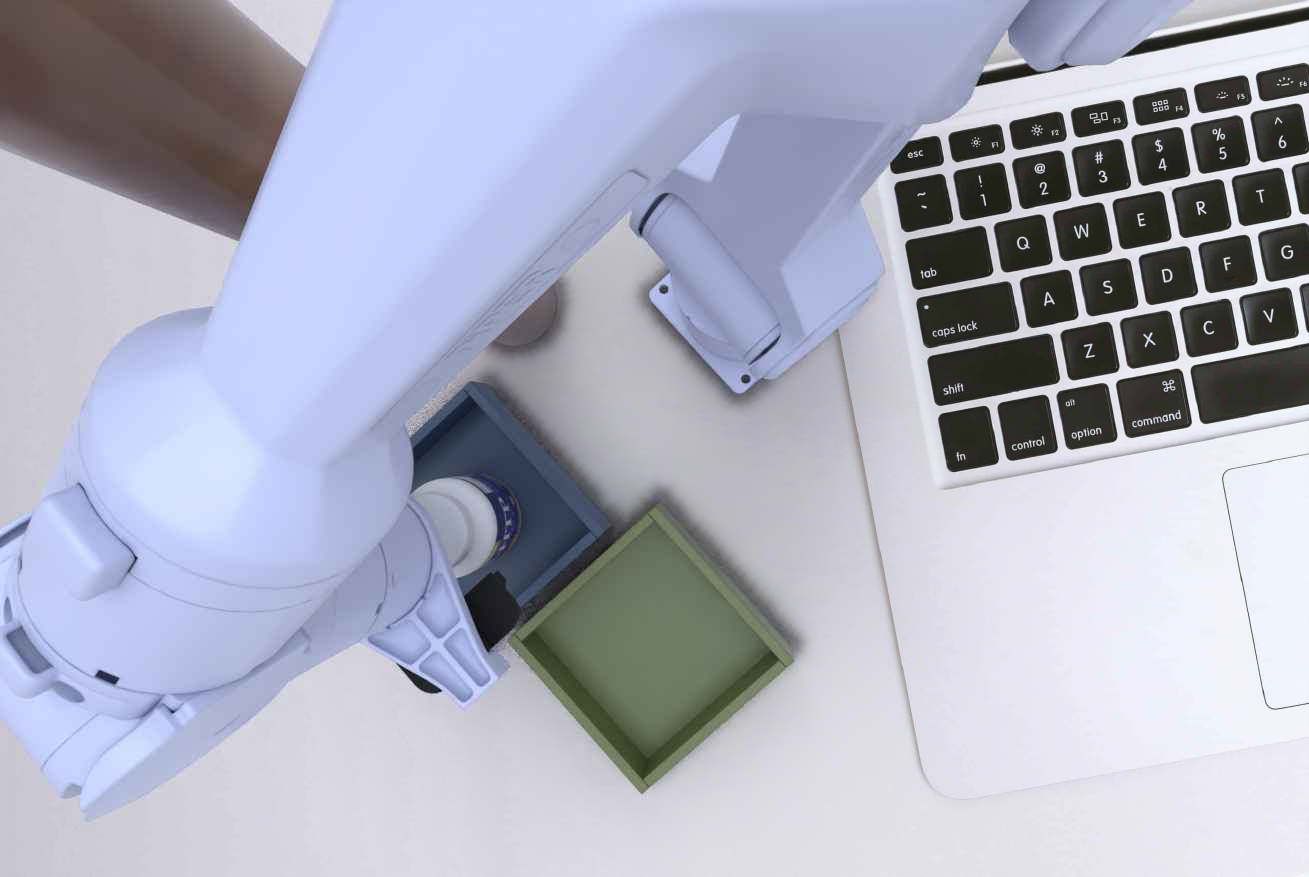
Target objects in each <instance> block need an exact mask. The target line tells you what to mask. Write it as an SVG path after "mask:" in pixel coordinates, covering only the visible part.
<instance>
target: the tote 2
mask: <svg viewBox="0 0 1309 877" xmlns="http://www.w3.org/2000/svg"><path fill="white" fill-rule="evenodd" d="M506 642H507V643H508V644H509V646H510V647H511V648H512V649H513V650H514V651H515V652H516V653H517V655H518V656H519V658H521V659H522V660H523V661H524V662H525V664H526V665H527V666H528V667H529V668H530V669H531V671H532V672H533V673H534V674H535V675H536V676H537V677H538V678H539V680H540V681H541V682H542V683H543V684H544V685H545V686H546V688H547V689H548V690H549V691H550V692H551V693H552V694H553V695H554V696H555V698H556V699H557V700H558V701H559V703H561V705H562V706H563V707H564V708H565V709H566V710H567V711H568V713H569V714H570V715H571V716H572V717H573V718H574V719H575V720H576V722H577V723H578V724H579V725H580V726H581V727H582V729H583V730H584V731H585V732H586V734H588V735H589V736H590V738H591V739H592V741H594V742H595V743H596V744H597V745H598V747H599V748H600V749H601V750H602V751H603V752H604V754H605V755H606V756H607V757H608V758H609V760H611V762H612V763H613V764H614V765H615V766H616V767H617V769H619V771H620V772H621V774H623V776H625V778H626V779H627V780H628V781H629V782H630V783H631V784H632V786H634V788H635V789H636V790H637V791H638V793H639V794H641V795H643V794H645V793H646V792H647V791H648V790H649V789H650V788H651V787H652V786H654V785H655V784H656V783H657V782H658V781H659V780H660V779H662V778H663V777H664V776H665V775H666V774H667V773H669V772H670V770H672V769H673V768H674V767H675V766H677V765H678V764H679V763H680V762H681V761H682V760H684V759H685V758H686V757H687V756H688V755H689V754H691V753H692V752H693V751H694V750H695V749H696V748H698V747H699V746H700V745H701V744H702V743H703V742H705V740H706V739H707V738H708V737H710V736H711V735H712V734H713V733H714V732H716V731H717V730H718V729H719V728H721V726H722V725H724V724H725V723H726V722H727V721H728V720H729V719H731V717H733V716H734V715H735V714H737V712H739V711H740V709H742V708H743V707H744V706H745V705H746V704H748V703H749V702H750V701H751V700H752V699H753V698H754V697H756V696H757V695H758V694H759V693H760V692H762V690H763V689H765V688H766V687H767V686H768V685H769V684H770V683H772V682H773V681H774V680H775V679H776V678H777V677H778V676H780V675H781V674H782V673H783V672H784V671H786V669H787V668H789V667H790V666H791V665H792V664H793V663H794V662H795V658H794V657H795V656H794V654H793V650H792V646H791V644H790V643H789V642H788V641H787V639H785V637H784V636H783V635H782V634H781V633H780V632H779V631H778V630H777V628H776V627H775V626H774V625H773V624H772V622H770V620H769V619H768V618H767V617H766V616H765V615H764V614H763V613H762V611H760V609H759V608H758V607H757V606H756V605H755V604H754V603H753V602H752V601H751V600H750V598H749V597H748V596H747V595H746V594H745V593H744V592H743V591H742V590H741V588H739V586H738V585H737V584H736V582H734V581H733V579H731V577H730V576H729V575H728V574H727V572H725V571H724V570H723V568H722V567H721V566H720V565H719V564H718V563H717V562H716V561H715V560H714V559H713V557H712V556H711V554H709V553H708V552H707V550H705V548H704V547H703V546H702V545H701V544H700V543H699V541H697V539H696V538H695V537H694V536H693V535H692V534H691V533H690V532H689V531H688V530H687V529H686V527H685V526H684V525H683V524H682V523H681V522H680V521H679V519H677V517H676V515H674V514H673V513H672V511H670V510H669V508H668V507H667V506H666V505H665V504H664V503H663V502H662V501H658V502H657V503H656V504H655V505H654V506H652V508H651V509H649V511H647V512H646V513H645V514H644V515H643V516H642V517H641V518H639V519H638V520H637V521H636V522H635V523H634V524H633V525H632V526H631V527H630V528H629V529H628V530H626V532H624V533H623V534H622V535H621V536H620V537H618V539H616V540H615V541H614V542H613V543H612V544H610V546H609V547H607V548H606V549H605V550H604V551H603V552H601V554H600V555H599V556H598V557H596V558H595V559H594V560H593V561H592V562H591V563H590V564H589V565H588V566H586V568H584V569H583V570H582V571H581V572H580V573H579V574H577V576H575V577H574V578H573V580H571V581H570V582H569V583H568V584H566V585H565V587H563V588H562V589H560V591H559V592H558V593H557V594H555V596H553V597H552V598H551V599H550V600H549V601H548V602H547V603H546V604H545V605H543V606H541V608H540V609H539V610H537V612H536V613H535V614H533V615H532V616H531V617H530V618H528V620H527V621H526V622H524V623H523V624H522V625H521V626H520V627H519V628H518V629H517V630H516V631H515V632H513V634H512V635H511V636H510V637H508V638H507V640H506Z"/></svg>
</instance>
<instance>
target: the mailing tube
mask: <svg viewBox="0 0 1309 877" xmlns="http://www.w3.org/2000/svg"><path fill="white" fill-rule="evenodd" d="M306 68H307V66H305V65H304V64H302V63H301V62H300V61H299V60H298V59H297V58H296V57H295V56H293V55H292V54H291V53H290V52H289V51H287V50H286V48H284V47H283V46H282V45H281V44H280V43H278V42H277V41H276V40H275V39H274V38H273V37H271V35H269V34H268V33H267V32H266V31H265V30H264V29H263V28H261V27H260V26H259V25H258V24H256V23H255V21H253V20H252V19H251V18H249V17H248V16H247V15H246V14H245V13H244V12H243V11H241V10H240V9H239V8H238V7H237V6H235V5H234V3H232V2H231V1H229V0H0V150H2V151H5V152H8V153H10V154H12V155H15V156H18V157H20V158H22V159H25V160H28V161H31V162H33V163H36V164H38V165H40V166H43V167H46V168H48V169H51V170H53V171H56V172H59V173H61V174H64V175H66V176H68V177H72V178H73V179H75V180H76V179H77V180H79V181H82V182H84V183H87V184H90V185H92V186H93V187H94V186H95V187H98V188H100V189H102V190H105V191H108V192H110V193H113V194H115V195H118V196H121V197H122V198H126V199H128V200H130V201H133V202H135V203H139V204H141V205H143V206H146V207H149V208H150V209H154V210H156V211H158V212H162V213H164V214H166V215H169V216H172V217H174V218H176V219H179V220H181V221H185V222H187V223H190V224H192V225H195V226H196V227H200V228H203V229H205V230H207V231H211V232H213V233H215V234H218V235H221V236H223V237H226V238H228V239H231V240H233V241H236V242H239V240H240V237H241V235H242V232H243V230H244V227H245V224H246V222H247V219H248V217H249V214H250V212H251V209H252V206H253V204H254V201H255V199H256V196H257V194H258V191H259V189H260V186H261V183H262V181H263V178H264V176H265V173H266V171H267V168H268V165H269V163H270V160H271V158H272V155H273V153H274V150H275V147H276V145H277V142H278V140H279V137H280V135H281V132H282V130H283V127H284V124H285V122H286V119H287V117H288V114H289V112H290V109H291V106H292V104H293V101H294V99H295V96H296V94H297V91H298V89H299V86H300V83H301V81H302V78H303V76H304V73H305V71H306ZM556 312H557V296H556V292H555V288H554V285H553V284H552V285H551V286H550V287H549V288H548V289H547V290H546V291H545V292H544V293H543V294H542V295H541V296H540V297H539V298H538V299H536V300H535V301H534V302H533V303H532V304H531V305H530V306H529V307H528V308H527V309H526V310H525V311H524V312H523V313H522V314H521V315H520V316H519V317H517V318H516V319H515V320H514V321H513V322H512V323H511V324H510V325H509V326H508V327H507V328H506V329H505V330H504V331H503V332H502V333H501V334H500V335H498V336H497V337H496V338H495V339H494V340H493V341H492V342H495V343H497V344H500V345H504V346H510V347H520V346H525V345H529V344H531V343H534V342H535V341H536V340H539V339H540V338H541V337H542V336H543V335H544V334H545V333H546V332H547V331H548V330H549V328H550V327H551V326H552V323H553V321H554V320H555V317H556V316H555V315H556Z"/></svg>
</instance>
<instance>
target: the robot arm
mask: <svg viewBox="0 0 1309 877" xmlns="http://www.w3.org/2000/svg"><path fill="white" fill-rule="evenodd" d="M1193 1H1194V0H332V1H331V3H330V5H329V6H330V7H329V9H328V12H327V15H326V17H325V20H324V22H323V25H322V27H321V30H320V32H319V35H318V38H317V40H316V43H315V45H314V47H313V50H312V52H311V55H310V58H309V61H308V63H307V66H306V71H305V73H304V76H303V78H302V81H301V83H300V86H299V89H298V91H297V94H296V96H295V99H294V101H293V104H292V106H291V109H290V112H289V114H288V117H287V119H286V122H285V124H284V127H283V130H282V132H281V135H280V137H279V140H278V142H277V145H276V147H275V150H274V153H273V155H272V158H271V160H270V163H269V165H268V168H267V171H266V173H265V176H264V178H263V181H262V183H261V186H260V189H259V191H258V194H257V196H256V199H255V201H254V204H253V206H252V209H251V212H250V214H249V217H248V219H247V222H246V224H245V227H244V230H243V232H242V235H241V237H240V240H239V242H238V241H237V242H238V243H237V245H236V248H235V251H234V253H233V255H232V257H231V261H230V263H229V264H228V268H227V270H226V273H225V276H224V278H223V280H222V282H221V283H222V284H221V286H220V289H219V291H218V294H217V297H216V298H215V301H214V304H213V305H212V306H211V305H210V306H203V307H202V306H201V307H197V308H188V309H182V310H178V311H174V312H170V313H167V314H164V315H161V316H158V317H156V318H153V319H152V320H149V321H148V322H146V323H144V324H141V325H139V326H138V327H136V328H135V329H133V330H132V331H130V332H129V333H127V334H126V335H125V336H123V337H122V338H121V339H120V340H119V341H118V342H117V343H116V344H115V345H114V346H113V347H112V349H110V351H109V352H108V353H107V355H106V356H105V357H104V359H103V360H102V361H101V363H100V364H99V367H98V369H97V371H96V373H95V376H94V378H93V379H92V382H91V384H90V387H89V389H88V392H87V394H86V396H85V399H84V401H83V403H82V405H81V408H80V410H79V412H78V414H77V416H76V419H75V421H74V423H73V425H72V427H71V428H70V431H69V433H68V436H67V438H66V440H65V442H64V444H63V447H62V449H61V451H60V453H59V456H58V458H57V460H56V461H55V462H56V463H55V466H54V467H53V469H52V472H51V473H50V476H49V478H48V481H47V483H46V485H45V487H44V490H43V492H42V494H41V495H40V499H39V500H38V502H37V505H36V508H34V509H32V510H30V511H28V512H26V513H24V514H23V515H21V516H19V517H17V518H15V519H14V520H13V521H10V522H9V523H7V524H5V525H4V526H3V527H1V528H0V719H1V721H2V722H3V723H4V724H5V726H6V727H7V729H8V730H9V732H10V733H11V734H12V735H13V737H14V738H15V739H16V741H17V742H18V743H19V744H20V746H21V747H22V748H23V750H24V751H25V752H26V754H27V755H28V756H29V757H30V759H31V760H32V762H33V763H34V764H35V766H36V767H37V768H38V770H39V771H40V772H41V773H42V775H43V776H44V778H45V779H46V780H47V781H48V783H49V784H50V786H51V787H52V788H53V790H54V791H55V792H56V793H57V795H58V796H59V797H60V799H63V800H68V799H71V798H75V797H77V796H79V800H78V807H79V809H80V810H81V812H82V813H84V816H83V821H84V822H85V823H90V822H93V821H95V820H98V819H99V818H103V817H104V816H106V815H108V814H110V813H112V812H114V811H116V810H118V809H120V808H123V807H125V806H127V805H129V804H131V803H133V802H136V801H137V800H139V799H141V798H144V797H145V796H147V795H148V794H150V793H151V792H154V790H156V789H158V788H160V787H161V786H163V785H165V783H167V782H168V781H170V780H172V779H173V778H174V777H176V776H177V775H179V774H180V773H182V772H183V771H185V770H186V769H187V768H189V767H190V766H191V765H194V763H196V762H197V761H199V760H200V759H202V757H204V756H205V755H207V754H209V752H211V751H212V750H213V749H215V748H216V747H218V746H219V745H220V744H222V743H223V742H224V741H225V740H227V739H228V738H229V737H230V736H232V735H233V734H235V733H236V732H237V731H238V730H239V729H241V728H242V727H243V726H245V725H246V724H247V723H248V722H249V721H250V720H252V719H253V718H254V717H256V715H258V714H259V713H260V712H262V710H264V709H265V707H266V706H269V704H270V703H271V702H272V701H273V700H274V699H275V698H276V697H277V696H278V695H279V694H280V693H281V692H282V690H283V689H284V688H285V687H286V686H287V685H288V683H289V682H291V681H293V680H294V679H296V678H298V677H299V676H301V675H303V674H305V673H307V672H308V671H310V670H312V669H313V668H315V667H317V666H319V665H321V664H322V663H324V662H326V661H328V660H329V659H331V658H333V657H335V656H336V655H338V654H340V653H342V652H344V651H345V650H347V649H349V648H352V647H353V646H354V645H356V644H358V643H360V644H362V645H364V646H365V647H367V648H369V649H371V650H372V651H374V652H375V653H378V654H379V655H382V656H383V657H385V658H387V659H388V660H390V661H392V662H394V663H395V664H396V665H397V666H398V668H399V669H400V670H401V671H402V672H403V673H404V675H405V676H406V677H407V679H409V680H410V682H411V683H412V684H413V685H414V686H415V687H416V688H417V689H418V690H419V691H421V692H424V693H425V694H430V695H432V694H433V695H434V694H439V693H442V692H444V693H445V694H446V696H448V697H449V698H450V699H451V700H452V701H453V702H454V703H455V704H456V705H457V706H458V707H459V708H460V709H461V710H462V711H465V710H467V709H468V708H469V707H470V706H471V705H472V704H473V703H475V702H476V701H477V700H478V699H479V698H480V697H481V696H482V695H484V694H485V693H486V692H487V691H488V690H489V689H490V688H491V687H492V686H494V684H496V683H497V682H498V681H499V680H500V679H501V678H502V677H503V676H504V675H505V673H506V672H507V671H508V670H509V669H510V668H511V663H509V661H508V660H507V659H506V658H505V657H504V656H503V655H502V654H501V653H500V651H498V650H497V649H493V648H494V647H495V646H496V645H498V643H499V642H500V641H502V639H504V638H505V637H507V635H508V634H510V632H511V631H512V630H514V629H515V628H516V626H517V624H518V622H519V620H520V617H521V616H522V613H523V610H522V608H520V606H519V604H518V603H517V601H516V600H515V599H514V597H513V596H512V595H511V594H510V593H509V592H508V591H507V589H506V579H505V578H504V577H503V575H502V574H501V573H500V572H499V571H498V570H497V571H496V572H495V573H494V574H492V573H491V572H490V573H489V574H487V575H486V576H485V577H484V578H483V579H482V580H481V581H480V582H479V583H478V584H477V585H475V586H474V587H473V588H472V589H471V590H470V591H469V592H468V593H467V594H466V595H464V596H463V594H462V592H461V589H460V587H459V584H458V582H457V579H456V577H455V574H454V572H453V569H452V567H451V564H450V562H449V559H448V557H447V554H446V551H445V549H444V546H443V544H442V541H441V539H440V536H439V534H438V531H437V529H436V527H435V525H434V522H433V520H432V518H431V517H430V515H429V514H428V512H427V511H426V510H425V509H424V507H423V506H422V505H421V504H420V503H419V502H418V501H417V500H416V499H414V498H413V497H412V496H411V495H410V492H411V487H412V480H413V462H414V461H413V452H412V446H411V442H410V435H409V431H408V429H407V426H406V424H407V423H408V422H410V420H411V419H412V418H413V417H414V416H415V415H416V414H417V413H418V412H420V411H421V410H422V409H423V408H424V407H425V406H426V405H427V404H428V403H429V402H431V400H433V398H434V397H435V396H436V395H437V394H439V393H440V391H442V390H443V389H444V388H445V387H446V386H447V385H448V384H449V383H450V382H451V381H453V379H454V378H455V377H457V375H458V374H460V372H462V370H464V369H465V368H466V367H467V366H468V365H469V364H470V363H471V362H473V360H474V359H475V358H477V356H479V355H480V354H481V353H482V352H483V351H484V350H485V349H486V348H487V347H488V346H489V345H490V344H491V343H492V342H494V341H493V340H494V339H495V338H496V337H497V336H498V335H500V334H501V333H502V332H503V331H504V330H505V329H506V328H507V327H508V326H509V325H510V324H511V323H512V322H513V321H514V320H515V319H516V318H517V317H519V316H520V315H521V314H522V313H523V312H524V311H525V310H526V309H527V308H528V307H529V306H530V305H531V304H532V303H533V302H534V301H535V300H536V299H538V298H539V297H540V296H541V295H542V294H543V293H544V292H545V291H546V290H547V289H548V288H549V287H550V286H551V285H553V284H555V283H556V282H557V281H558V280H560V278H561V277H562V276H563V275H564V274H565V273H566V272H568V270H570V268H572V267H573V265H575V264H576V263H577V262H578V261H579V260H580V259H581V258H582V257H583V256H584V255H585V254H586V253H587V252H589V251H590V250H591V248H592V247H594V246H595V245H596V244H598V242H599V241H600V240H601V239H602V238H603V237H604V236H605V235H607V233H609V232H610V231H611V230H612V229H613V228H614V227H615V226H616V225H617V224H618V223H619V222H620V221H621V220H622V219H623V218H625V217H626V215H627V214H628V213H630V216H629V221H628V226H629V228H630V229H631V231H632V232H633V233H634V235H635V236H636V237H637V238H641V239H644V241H645V242H646V243H647V245H648V246H649V247H650V249H652V251H653V253H655V255H657V257H658V258H659V259H660V261H661V262H662V263H663V264H664V265H665V266H666V268H667V269H668V270H669V272H668V273H667V274H666V275H665V276H664V277H663V278H662V279H661V280H660V281H658V283H656V284H655V285H654V286H653V287H652V288H651V289H650V291H649V293H648V298H649V301H650V302H651V303H652V304H653V306H654V307H656V309H657V310H658V311H659V312H660V313H661V314H662V316H663V317H664V318H665V319H666V320H667V321H668V322H669V323H670V325H672V327H673V328H674V329H675V330H676V331H677V332H678V333H679V334H680V335H681V336H682V337H683V338H684V339H685V341H686V342H687V343H688V344H689V345H690V346H691V347H692V348H693V350H694V351H695V352H697V353H698V355H699V356H700V357H701V358H702V359H703V360H704V361H705V363H707V365H708V366H709V367H710V368H711V369H712V370H713V371H714V372H715V373H716V374H717V376H718V377H720V379H721V380H722V381H723V382H724V383H725V384H726V385H727V387H728V388H730V390H731V391H732V392H733V393H734V394H738V395H740V394H744V393H745V392H746V391H748V390H749V389H750V388H751V387H752V386H753V385H754V384H755V383H756V382H758V381H759V380H760V379H764V380H771V381H772V380H776V379H777V378H778V377H780V376H781V375H783V373H785V372H786V371H787V370H789V369H790V368H791V367H792V366H794V364H796V363H797V362H799V361H800V360H801V359H802V358H803V357H805V356H806V355H807V354H809V352H810V351H812V350H813V349H814V348H816V346H818V345H819V344H820V343H822V342H823V341H824V340H825V339H826V338H828V337H829V336H830V335H831V334H833V333H834V332H835V331H836V330H837V329H838V328H840V327H841V326H842V325H844V324H845V323H846V322H847V321H849V319H850V318H852V317H853V316H854V315H855V314H857V312H859V311H860V310H861V309H862V308H863V307H865V305H867V304H868V301H869V297H870V296H872V294H874V293H875V292H876V291H877V289H878V281H879V280H880V279H881V278H882V277H883V276H884V275H885V274H886V267H885V263H884V259H883V256H882V254H881V252H880V249H879V246H878V244H877V241H876V239H875V235H874V233H873V231H872V228H871V225H870V223H869V220H868V217H867V215H866V212H865V210H864V207H863V205H862V202H861V199H862V198H863V197H864V195H865V194H867V192H868V191H869V190H870V188H871V187H872V186H873V185H874V184H875V183H876V181H877V180H878V179H879V178H880V176H881V175H882V174H883V173H884V171H885V170H886V169H887V168H888V166H890V164H891V163H892V162H893V160H894V159H895V158H896V157H897V156H898V155H899V153H900V152H901V151H902V150H903V149H904V148H905V146H906V145H907V144H908V143H909V141H910V140H911V139H912V138H913V137H914V135H915V134H916V133H917V132H918V131H919V130H920V128H921V127H922V126H923V125H933V124H937V123H940V122H943V121H945V120H947V119H949V118H951V117H952V116H954V115H955V114H956V113H958V112H959V111H960V110H961V109H963V108H964V107H965V106H966V105H967V104H968V103H969V101H970V100H971V98H972V96H973V94H974V91H975V88H976V86H977V85H978V82H979V80H980V78H981V75H982V73H983V71H984V68H985V66H986V64H987V63H988V61H989V59H990V58H991V56H992V54H993V53H994V51H995V49H997V46H998V45H999V43H1000V41H1001V40H1002V38H1003V37H1004V35H1005V34H1006V33H1008V34H1007V36H1008V43H1009V44H1010V45H1011V46H1012V48H1013V49H1014V50H1015V51H1016V52H1017V54H1018V55H1019V56H1020V57H1021V58H1022V59H1023V60H1024V61H1025V63H1026V64H1027V65H1028V66H1029V67H1030V68H1031V69H1033V70H1034V71H1036V72H1049V71H1052V70H1055V69H1056V68H1058V67H1060V66H1062V65H1064V64H1067V65H1068V66H1071V67H1082V66H1083V67H1085V66H1106V65H1107V66H1108V65H1111V64H1112V63H1115V62H1116V61H1117V60H1118V59H1119V60H1120V58H1122V57H1123V56H1125V55H1126V54H1127V53H1129V52H1130V51H1132V50H1133V49H1134V48H1136V47H1137V46H1138V45H1139V44H1141V43H1142V42H1144V41H1145V40H1146V39H1147V38H1148V37H1150V36H1151V35H1152V34H1154V33H1155V32H1156V31H1157V30H1159V29H1160V28H1162V26H1164V25H1165V24H1166V23H1167V22H1169V21H1171V19H1172V18H1174V17H1175V16H1176V15H1177V14H1179V13H1180V12H1181V11H1182V10H1184V9H1185V8H1186V7H1187V6H1189V5H1190V4H1191V3H1193ZM663 287H666V288H667V292H665V293H662V292H661V288H663ZM743 376H748V377H749V382H748V383H744V382H743V381H742V379H743V378H742V377H743Z"/></svg>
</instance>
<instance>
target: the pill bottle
mask: <svg viewBox="0 0 1309 877" xmlns="http://www.w3.org/2000/svg"><path fill="white" fill-rule="evenodd" d="M411 496H412V497H413V498H414V499H416V500H417V501H418V502H419V503H420V504H421V505H422V506H423V507H424V509H425V510H426V511H427V512H428V514H429V515H430V517H431V518H432V520H433V522H434V525H435V527H436V529H437V531H438V534H439V536H440V539H441V541H442V544H443V546H444V549H445V551H446V554H447V557H448V559H449V562H450V564H451V567H452V569H453V572H454V574H455V577H456V578H459V577H462V576H465V575H468V574H470V573H472V572H474V571H476V570H478V569H479V568H481V567H483V566H485V565H487V564H489V563H491V562H493V561H495V560H497V559H498V558H500V557H502V556H503V555H504V554H506V553H507V552H508V551H509V550H510V548H511V547H512V546H513V544H514V543H515V541H516V539H517V537H518V535H519V532H520V527H521V511H520V507H519V504H518V501H517V499H516V497H515V495H514V494H513V493H512V491H511V490H510V489H509V488H508V487H507V486H506V485H505V484H504V483H502V482H501V481H499V480H497V479H496V478H493V477H491V476H487V475H480V474H472V475H462V476H456V477H448V478H441V479H437V480H433V481H430V482H428V483H425V484H424V485H422V486H420V487H419V488H417V489H416V490H415V491H414V492H413V493H412V494H411Z"/></svg>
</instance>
